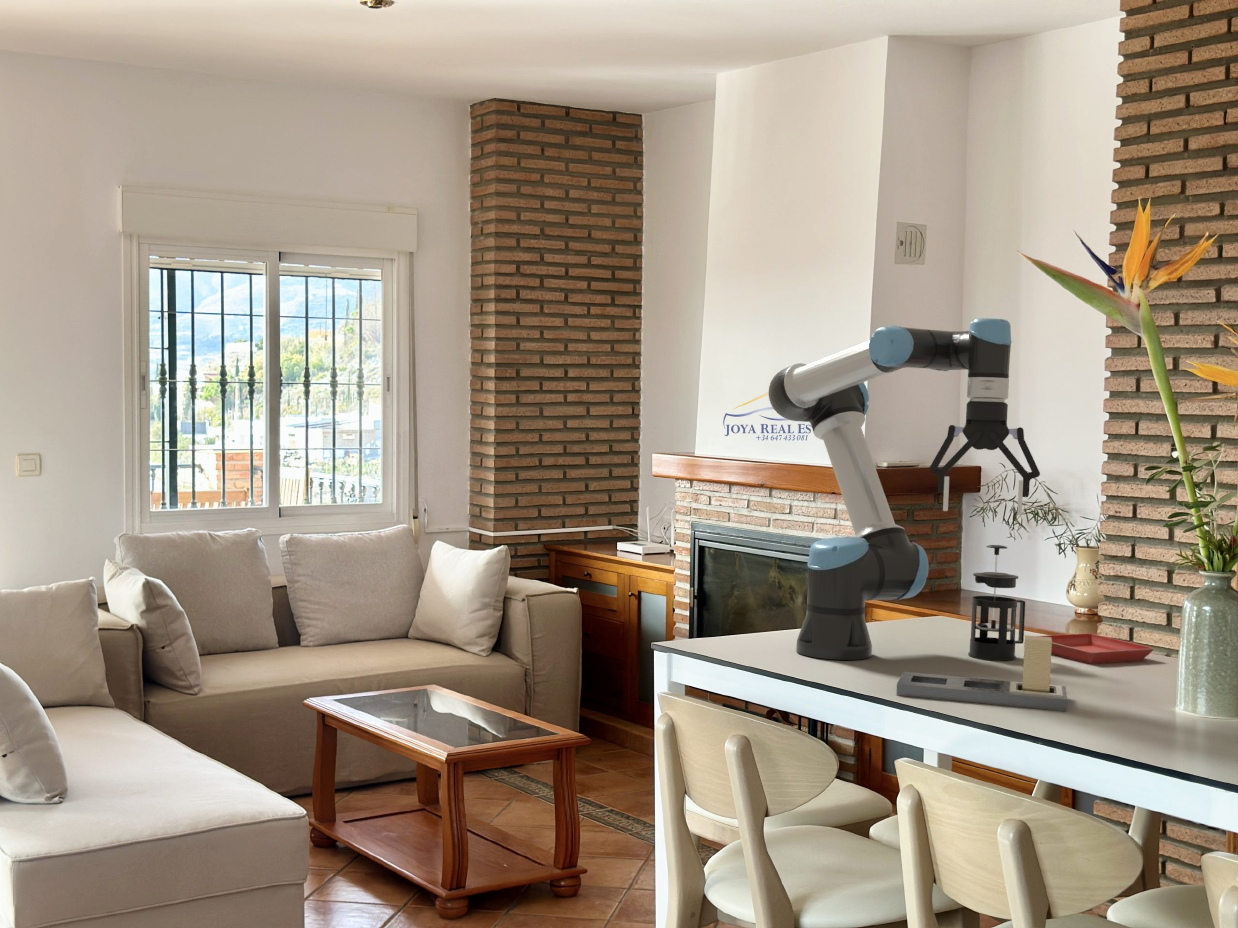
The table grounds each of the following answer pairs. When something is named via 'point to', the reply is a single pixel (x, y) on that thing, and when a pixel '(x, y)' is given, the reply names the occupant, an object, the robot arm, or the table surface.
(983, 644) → the french press
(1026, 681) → the peg
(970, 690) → the grey flat slotted block
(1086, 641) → the red serving tray
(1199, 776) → the table surface
